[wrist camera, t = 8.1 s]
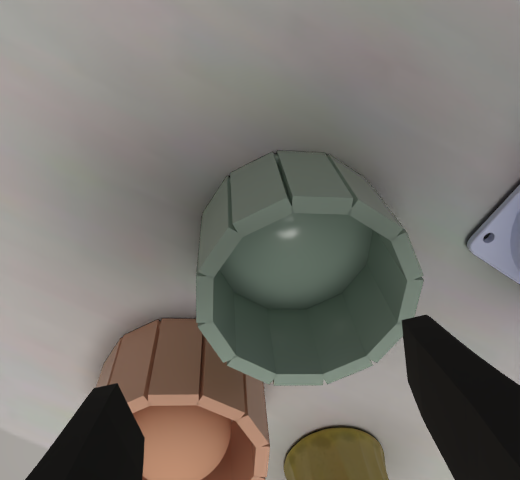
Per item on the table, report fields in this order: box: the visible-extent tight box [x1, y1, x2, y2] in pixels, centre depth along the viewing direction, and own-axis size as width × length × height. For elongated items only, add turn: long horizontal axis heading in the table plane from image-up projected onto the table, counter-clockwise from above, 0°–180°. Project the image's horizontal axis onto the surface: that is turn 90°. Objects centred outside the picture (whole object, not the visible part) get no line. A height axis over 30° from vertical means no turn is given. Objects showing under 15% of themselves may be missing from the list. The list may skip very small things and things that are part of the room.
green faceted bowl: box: [196, 151, 424, 386], centre depth 20 cm, size 8×8×5 cm
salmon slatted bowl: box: [96, 319, 270, 480], centre depth 23 cm, size 8×8×5 cm
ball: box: [133, 405, 231, 480], centre depth 23 cm, size 5×5×5 cm
